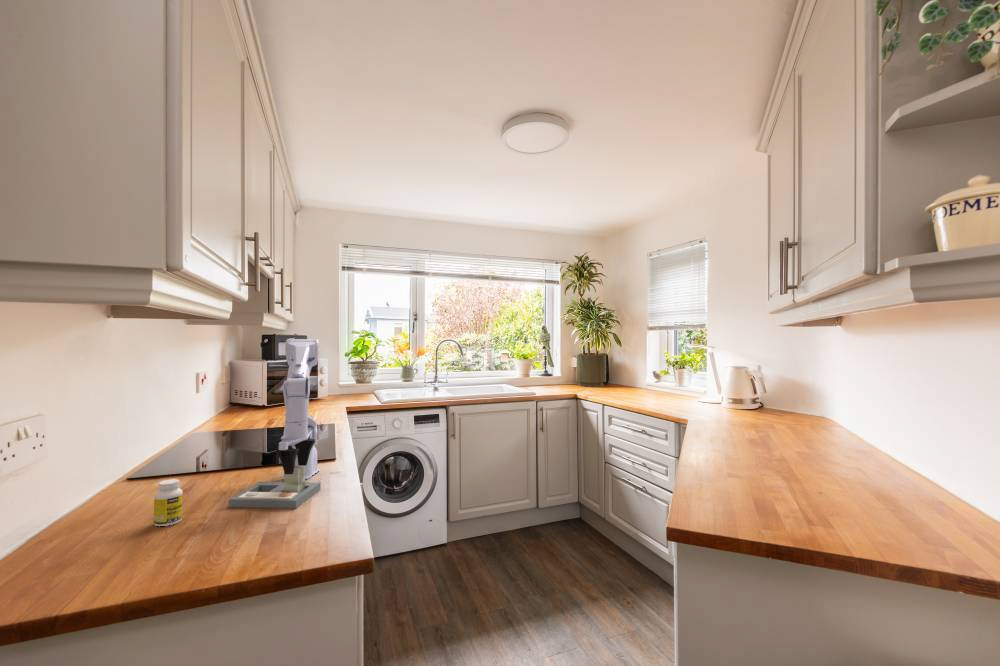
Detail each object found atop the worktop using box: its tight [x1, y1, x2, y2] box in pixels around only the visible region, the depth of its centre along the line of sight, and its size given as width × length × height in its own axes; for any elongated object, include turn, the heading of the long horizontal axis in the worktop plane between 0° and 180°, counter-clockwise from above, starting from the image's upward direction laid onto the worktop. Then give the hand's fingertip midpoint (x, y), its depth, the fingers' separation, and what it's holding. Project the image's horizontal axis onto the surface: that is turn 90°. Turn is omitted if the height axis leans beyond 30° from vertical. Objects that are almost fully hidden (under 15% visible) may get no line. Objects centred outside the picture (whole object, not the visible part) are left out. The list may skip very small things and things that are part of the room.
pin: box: [283, 465, 306, 493], centre depth 122 cm, size 4×4×8 cm
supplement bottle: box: [153, 478, 184, 528], centre depth 104 cm, size 5×5×10 cm
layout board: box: [228, 481, 322, 509], centre depth 121 cm, size 14×18×2 cm
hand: (296, 469), depth 122 cm, fingers open, 7 cm apart
